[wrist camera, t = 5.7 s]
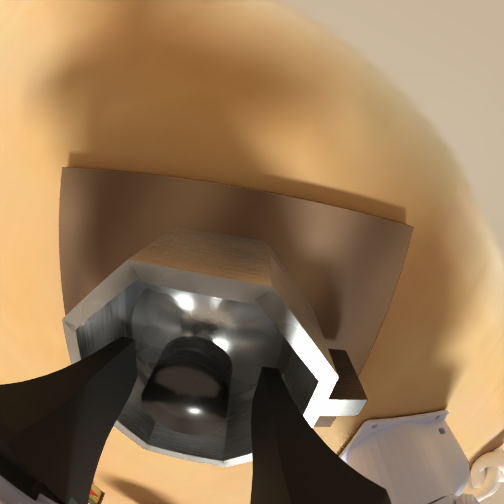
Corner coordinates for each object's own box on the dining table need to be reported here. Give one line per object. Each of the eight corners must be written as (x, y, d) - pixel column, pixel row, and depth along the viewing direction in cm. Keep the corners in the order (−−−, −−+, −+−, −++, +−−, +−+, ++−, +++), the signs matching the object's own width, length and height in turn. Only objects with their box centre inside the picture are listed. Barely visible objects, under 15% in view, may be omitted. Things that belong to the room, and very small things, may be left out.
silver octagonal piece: (367, 260, 12) (420, 308, 7) (311, 407, 15) (323, 471, 10) (120, 216, 12) (54, 242, 7) (124, 374, 15) (92, 430, 10)
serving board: (405, 224, 12) (413, 227, 12) (328, 418, 16) (330, 426, 16) (71, 167, 12) (62, 167, 11) (83, 370, 16) (78, 376, 15)
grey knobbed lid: (297, 281, 12) (319, 346, 7) (264, 397, 14) (265, 469, 9) (137, 251, 12) (75, 296, 7) (138, 372, 14) (106, 434, 9)
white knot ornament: (513, 434, 22) (530, 461, 13) (472, 473, 25) (485, 500, 16) (494, 440, 21) (514, 473, 12) (446, 482, 24) (460, 515, 15)
